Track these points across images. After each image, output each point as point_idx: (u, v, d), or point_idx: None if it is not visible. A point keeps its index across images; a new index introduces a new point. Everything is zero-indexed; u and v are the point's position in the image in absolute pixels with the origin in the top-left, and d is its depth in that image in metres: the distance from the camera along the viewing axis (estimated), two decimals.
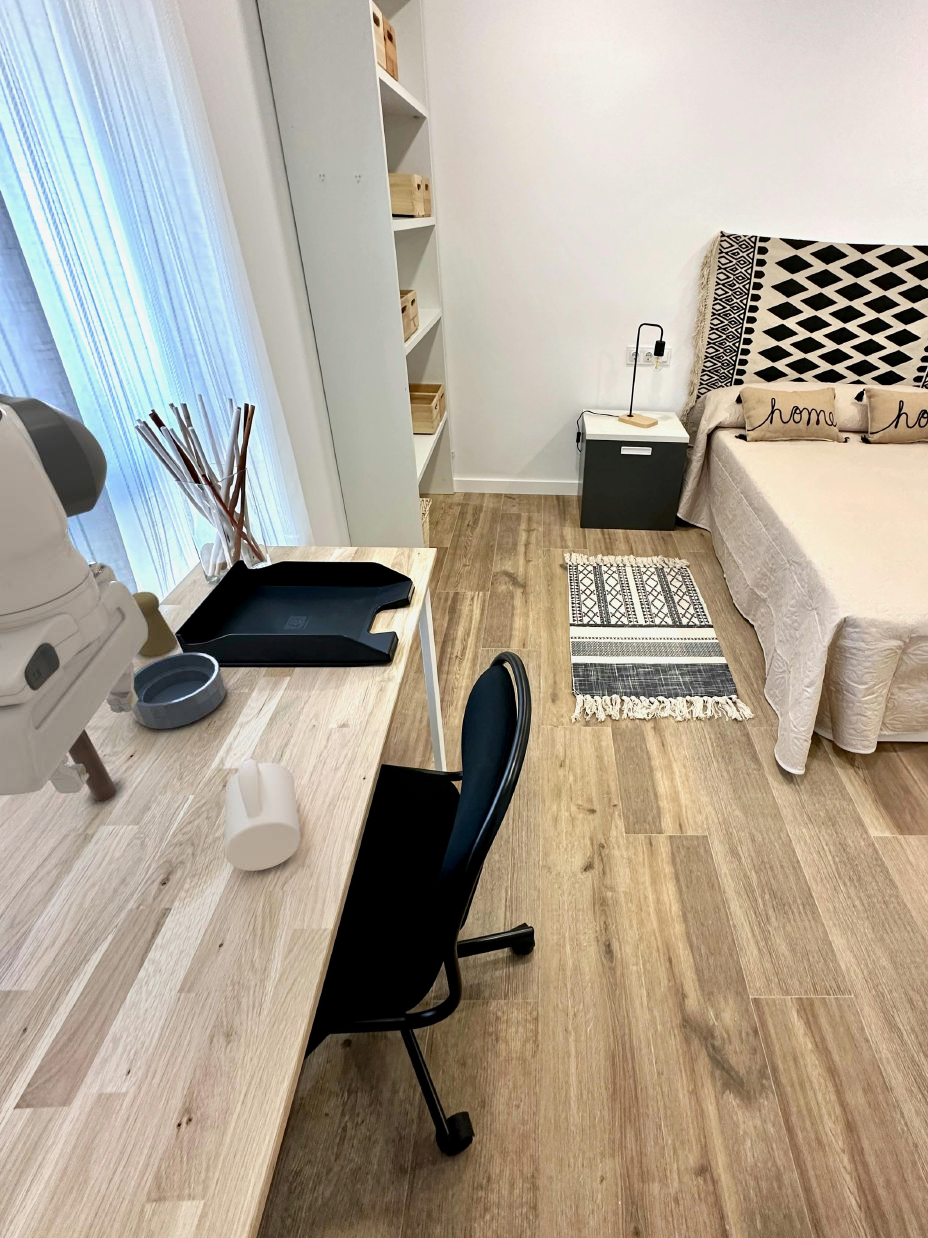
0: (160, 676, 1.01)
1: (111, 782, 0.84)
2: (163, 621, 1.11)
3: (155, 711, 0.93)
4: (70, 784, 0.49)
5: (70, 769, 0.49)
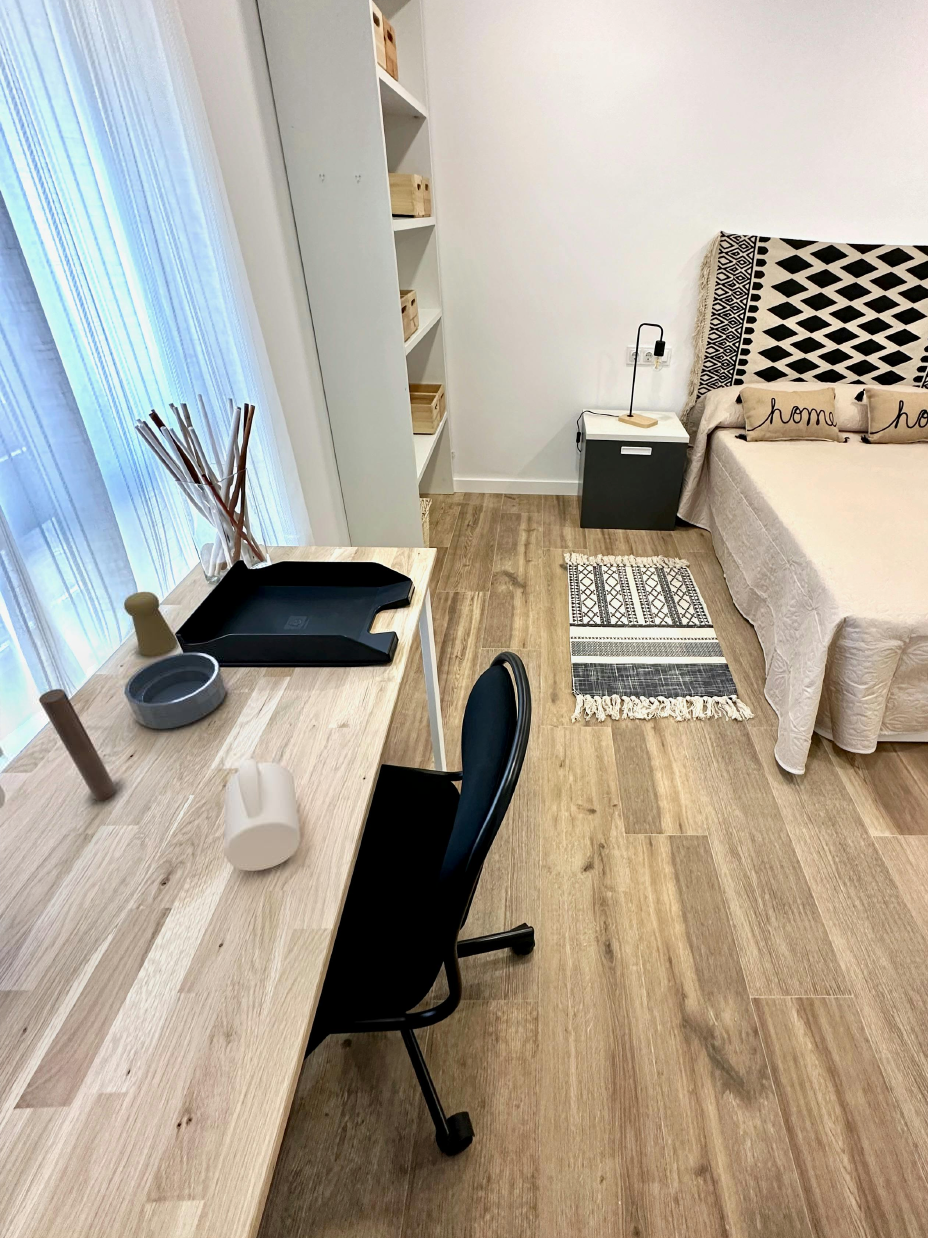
0: (160, 676, 1.01)
1: (111, 782, 0.84)
2: (163, 621, 1.11)
3: (155, 711, 0.93)
4: None
5: None
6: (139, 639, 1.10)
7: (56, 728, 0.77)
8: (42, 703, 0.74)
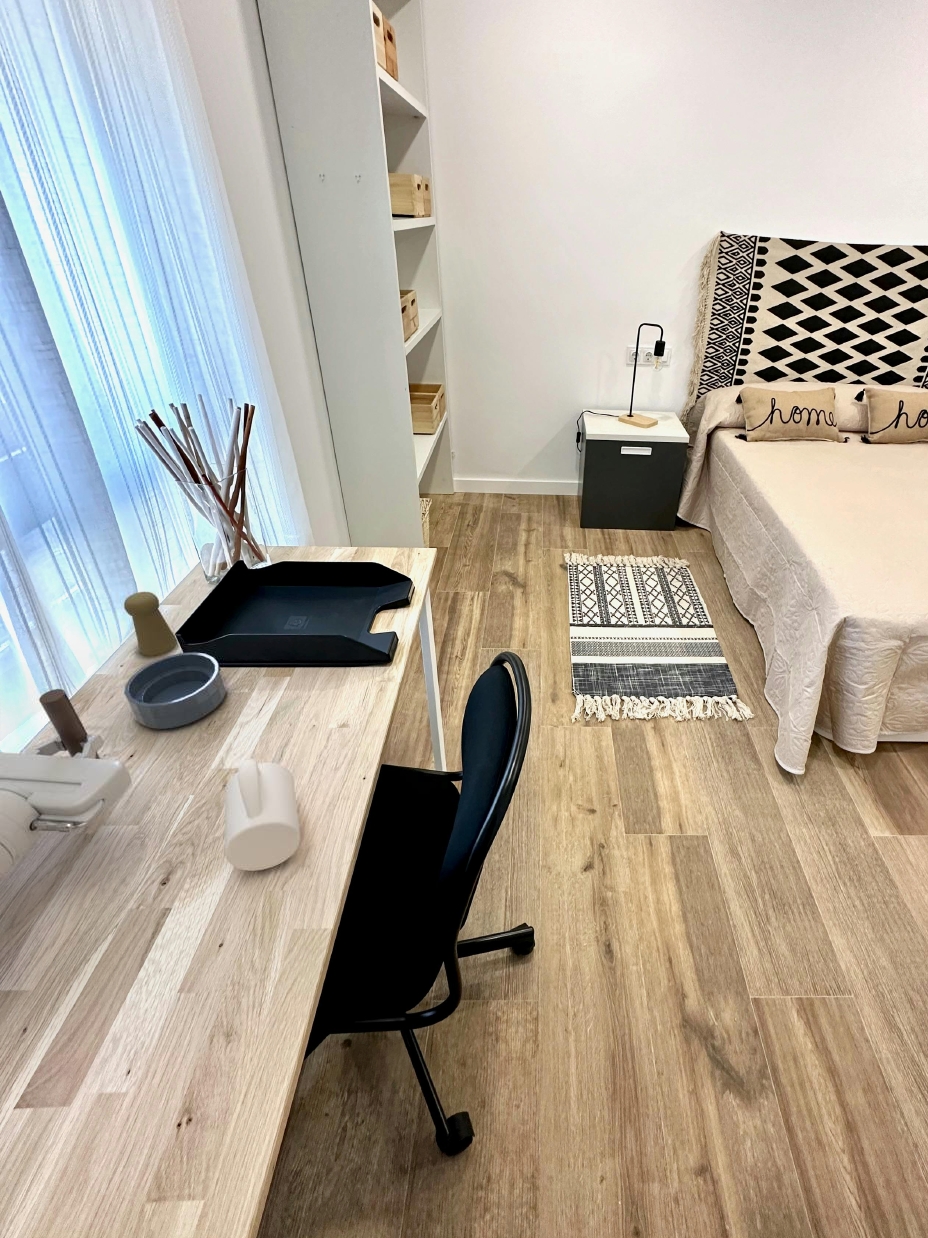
0: (160, 676, 1.01)
1: None
2: (163, 621, 1.11)
3: (155, 711, 0.93)
4: None
5: (50, 756, 0.79)
6: (139, 639, 1.10)
7: (56, 728, 0.77)
8: (42, 703, 0.74)
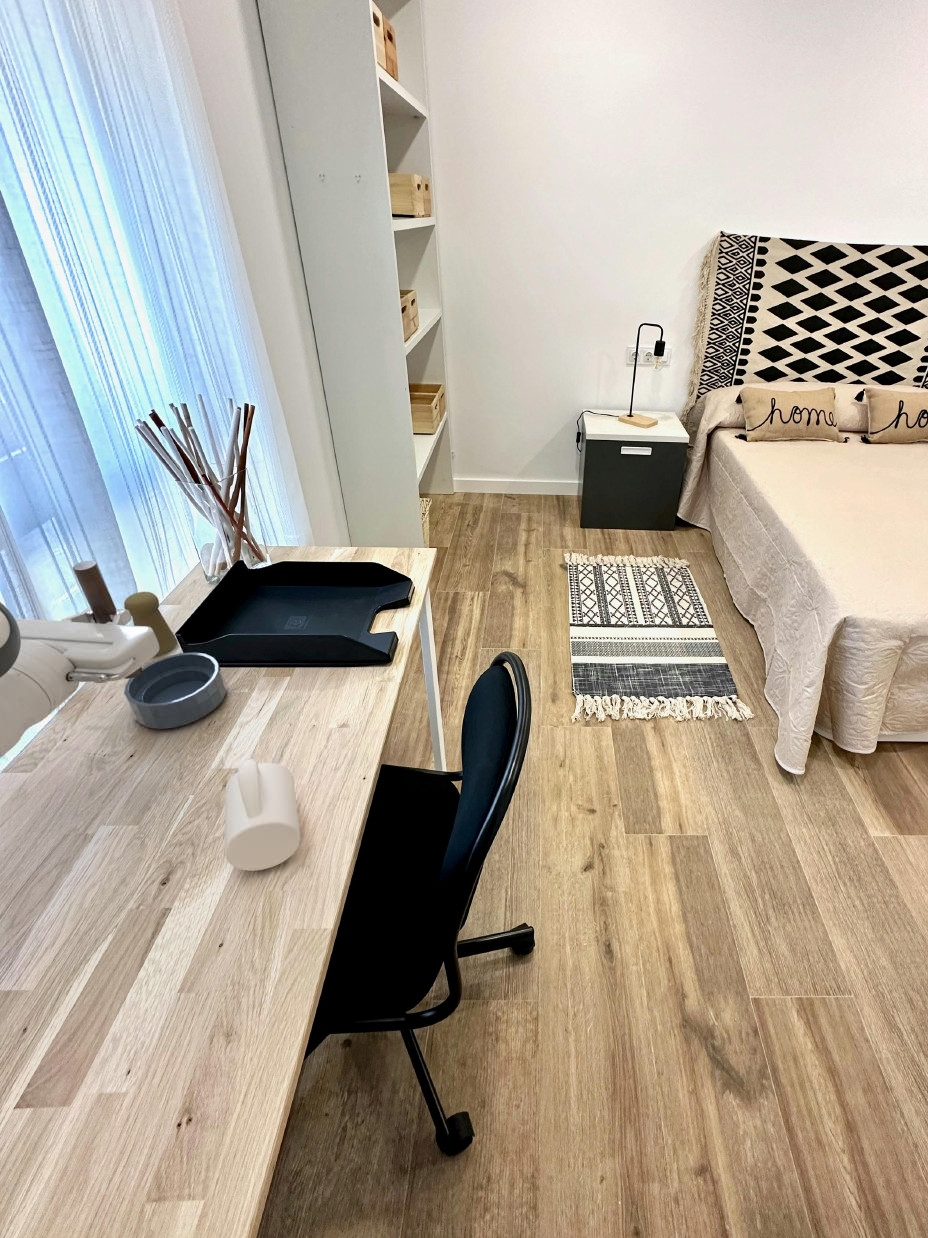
0: (160, 676, 1.01)
1: None
2: (163, 621, 1.11)
3: (155, 711, 0.93)
4: None
5: None
6: None
7: (88, 598, 0.80)
8: (75, 571, 0.78)
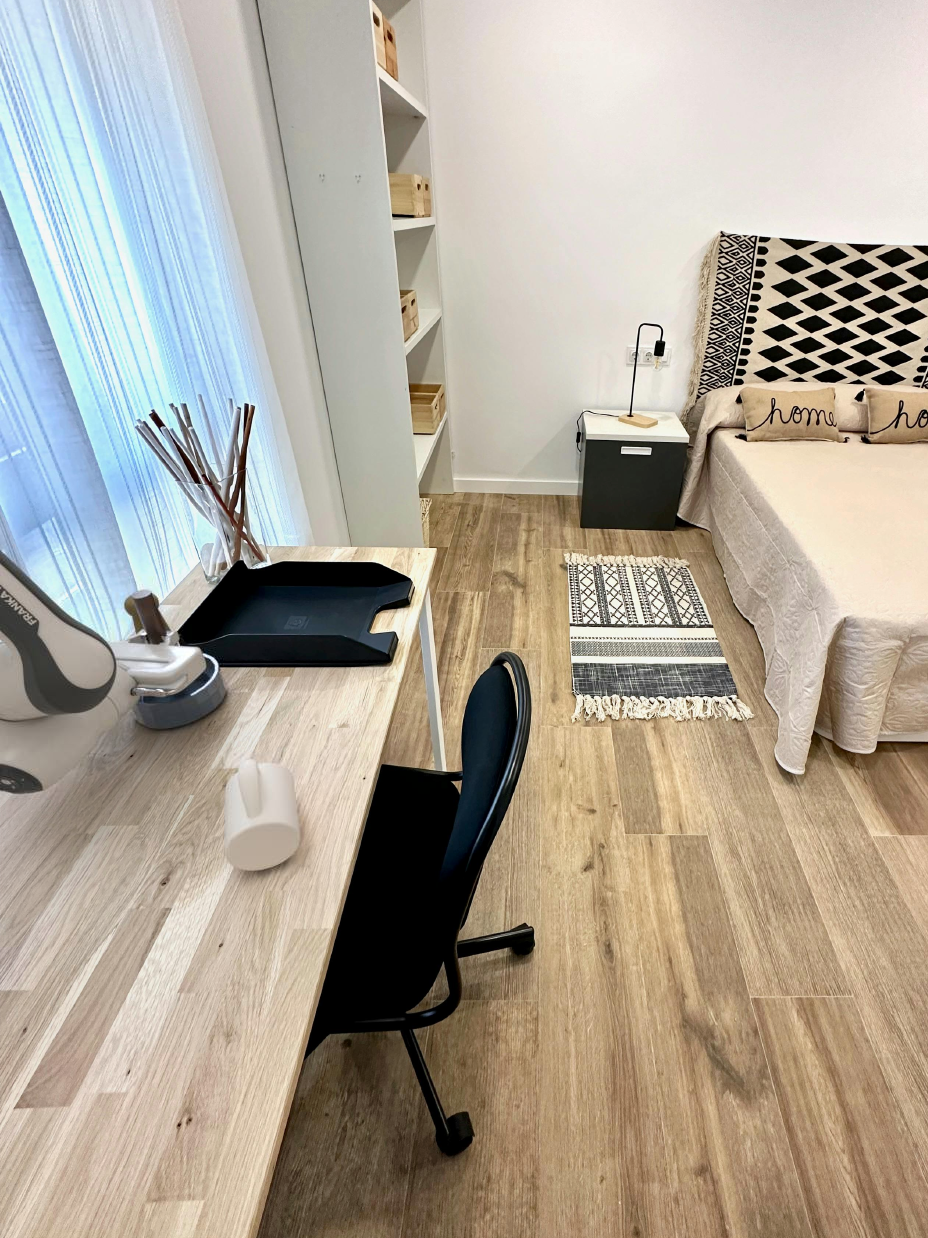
0: None
1: None
2: (163, 621, 1.11)
3: (155, 711, 0.93)
4: None
5: None
6: None
7: (143, 622, 0.92)
8: (134, 599, 0.90)
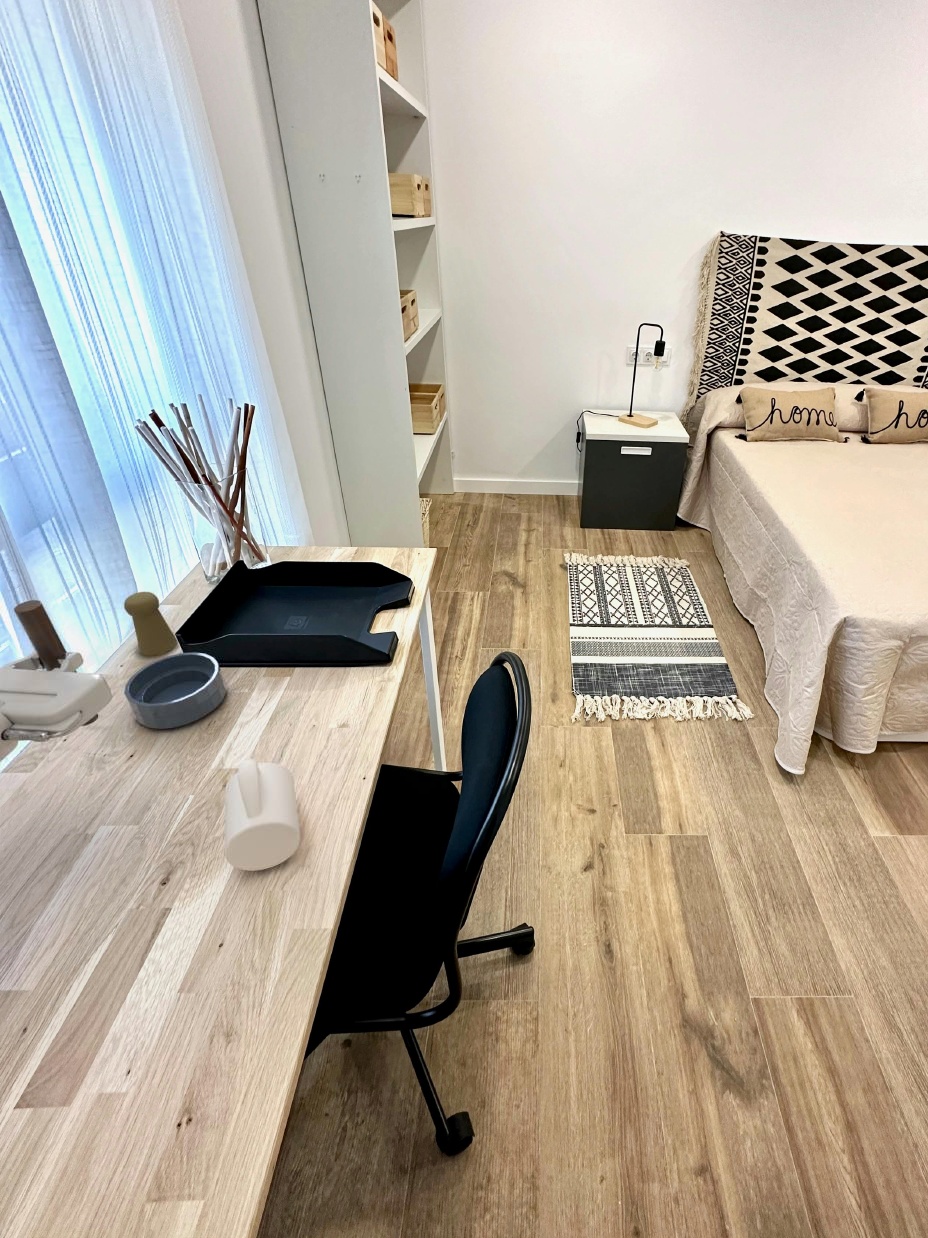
0: (160, 676, 1.01)
1: None
2: (163, 621, 1.11)
3: (155, 711, 0.93)
4: None
5: None
6: (139, 639, 1.10)
7: (32, 642, 0.73)
8: (17, 612, 0.70)
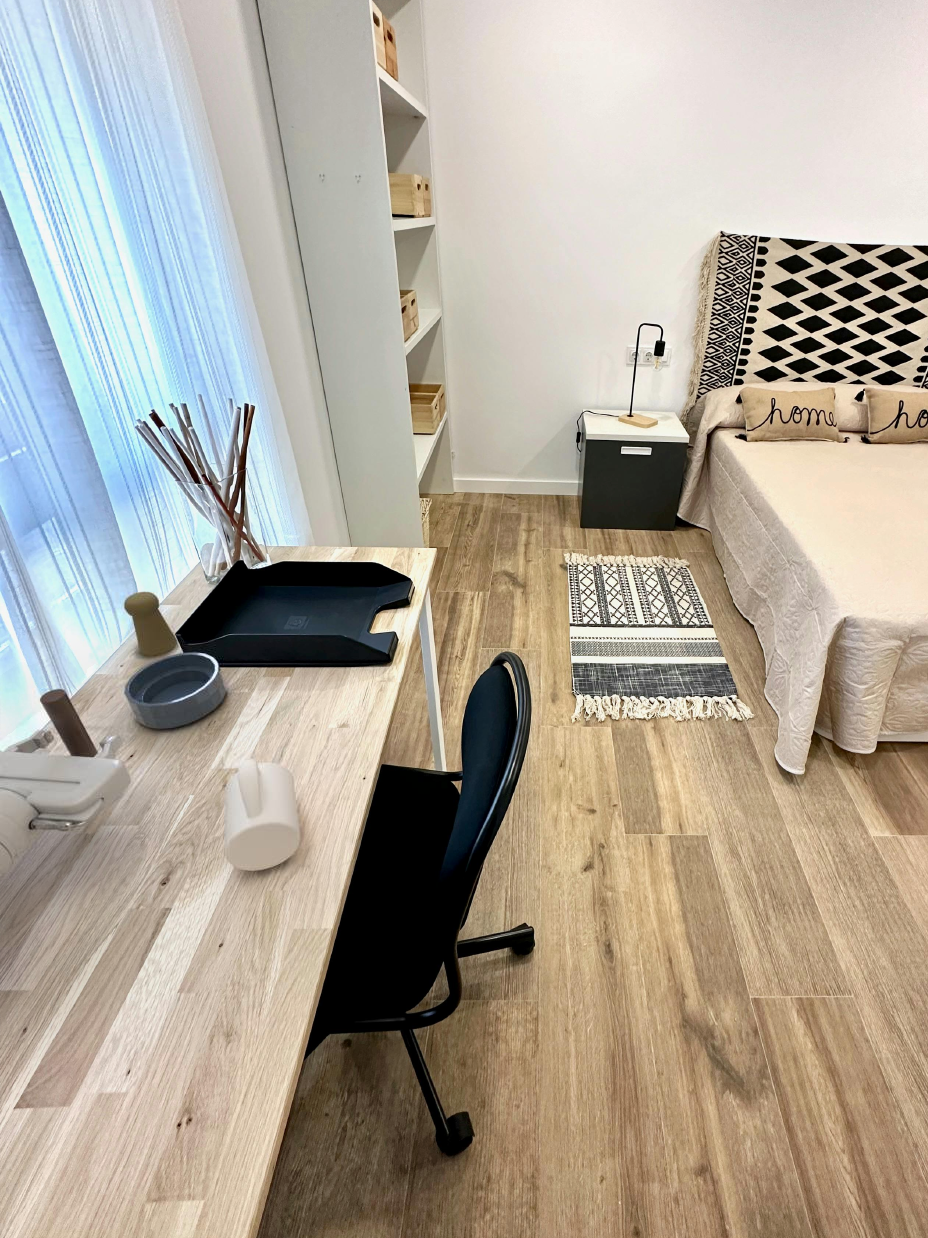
0: (160, 676, 1.01)
1: None
2: (163, 621, 1.11)
3: (155, 711, 0.93)
4: None
5: None
6: (139, 639, 1.10)
7: (57, 728, 0.77)
8: (43, 703, 0.74)
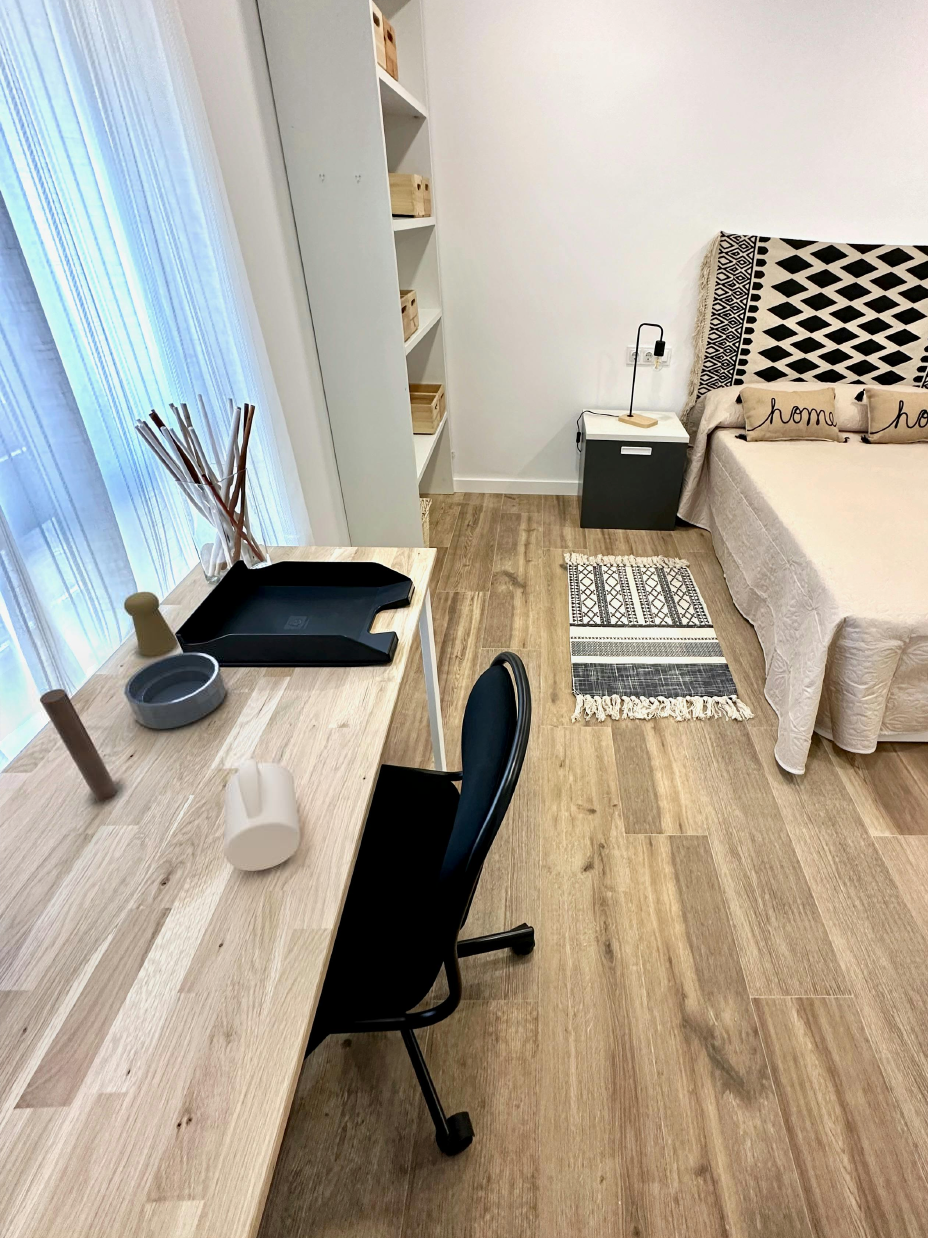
0: (160, 676, 1.01)
1: (112, 782, 0.84)
2: (163, 621, 1.11)
3: (155, 711, 0.93)
4: None
5: None
6: (139, 639, 1.10)
7: (57, 728, 0.77)
8: (43, 703, 0.74)
